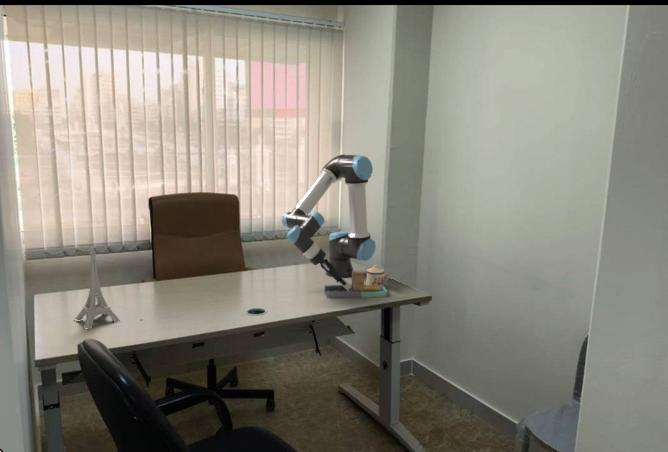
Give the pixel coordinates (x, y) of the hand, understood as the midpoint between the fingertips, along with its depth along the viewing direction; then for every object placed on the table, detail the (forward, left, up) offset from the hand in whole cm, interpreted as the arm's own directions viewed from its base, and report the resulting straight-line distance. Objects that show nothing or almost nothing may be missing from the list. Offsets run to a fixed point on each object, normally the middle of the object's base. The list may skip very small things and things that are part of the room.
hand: (349, 288), depth 233 cm
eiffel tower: (+26, -104, -4) cm, 108 cm away
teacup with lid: (-12, +16, -4) cm, 20 cm away
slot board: (0, -3, -4) cm, 5 cm away
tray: (0, +11, -4) cm, 12 cm away
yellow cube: (0, +12, -3) cm, 13 cm away
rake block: (0, +4, -3) cm, 5 cm away
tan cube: (0, +8, -3) cm, 9 cm away
